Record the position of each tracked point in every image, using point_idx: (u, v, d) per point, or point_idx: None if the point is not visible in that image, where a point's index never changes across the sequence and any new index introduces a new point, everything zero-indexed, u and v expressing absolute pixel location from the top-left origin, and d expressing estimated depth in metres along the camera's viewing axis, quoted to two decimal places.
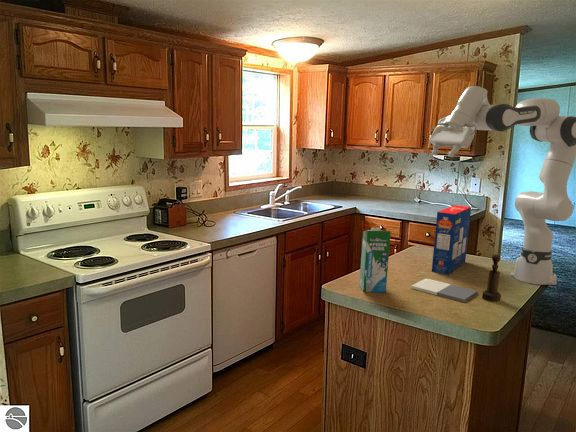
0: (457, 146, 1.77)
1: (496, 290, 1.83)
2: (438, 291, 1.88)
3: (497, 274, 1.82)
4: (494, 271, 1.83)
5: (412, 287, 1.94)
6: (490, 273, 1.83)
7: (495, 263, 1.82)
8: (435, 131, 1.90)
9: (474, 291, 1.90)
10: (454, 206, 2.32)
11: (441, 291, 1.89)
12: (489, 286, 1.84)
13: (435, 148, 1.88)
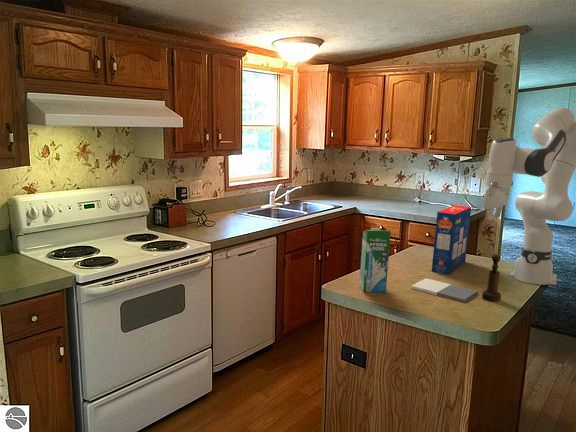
0: (489, 209, 1.73)
1: (496, 290, 1.83)
2: (438, 291, 1.88)
3: (497, 274, 1.82)
4: (494, 271, 1.83)
5: (412, 287, 1.94)
6: (490, 273, 1.83)
7: (495, 263, 1.82)
8: None
9: (474, 291, 1.90)
10: (454, 206, 2.32)
11: (441, 291, 1.89)
12: (489, 286, 1.84)
13: (497, 210, 1.83)
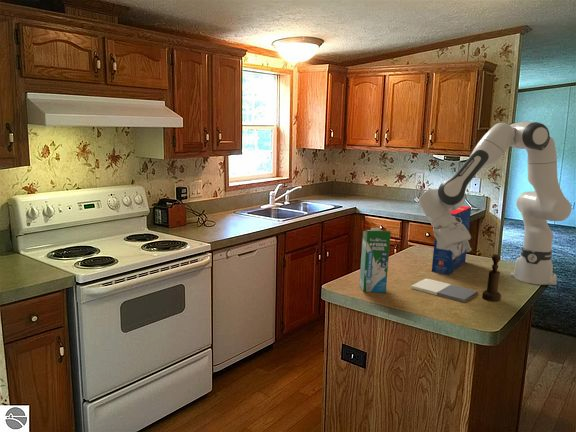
0: (449, 247, 1.89)
1: (496, 290, 1.83)
2: (438, 291, 1.88)
3: (497, 274, 1.82)
4: (494, 271, 1.83)
5: (412, 287, 1.94)
6: (490, 273, 1.83)
7: (495, 263, 1.82)
8: None
9: (474, 291, 1.90)
10: None
11: (441, 291, 1.89)
12: (489, 286, 1.84)
13: (465, 246, 1.97)
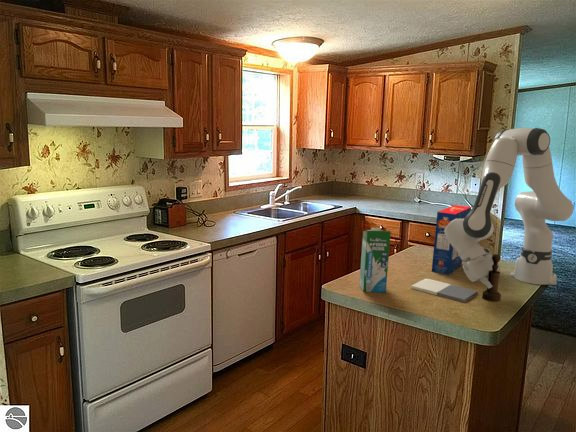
0: (481, 279, 1.83)
1: (496, 290, 1.83)
2: (438, 291, 1.88)
3: (497, 274, 1.82)
4: (494, 271, 1.83)
5: (412, 287, 1.94)
6: (490, 273, 1.83)
7: (495, 263, 1.82)
8: None
9: (474, 291, 1.90)
10: (454, 206, 2.32)
11: (441, 291, 1.89)
12: None
13: None
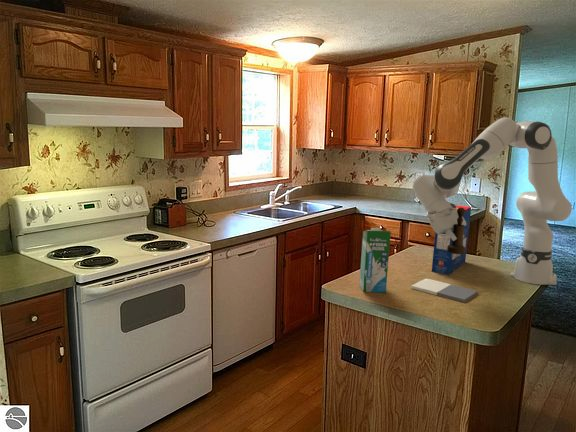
0: (446, 232, 1.87)
1: (460, 243, 1.87)
2: (438, 291, 1.88)
3: (461, 227, 1.85)
4: (459, 224, 1.86)
5: (412, 287, 1.94)
6: (455, 226, 1.86)
7: (460, 216, 1.86)
8: None
9: (474, 291, 1.90)
10: None
11: (441, 291, 1.89)
12: None
13: None
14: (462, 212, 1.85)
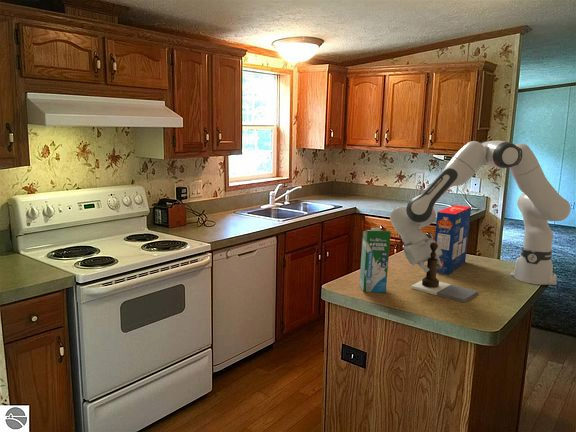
0: (419, 263, 1.92)
1: (434, 277, 1.93)
2: (438, 291, 1.88)
3: (434, 261, 1.92)
4: (432, 259, 1.93)
5: (412, 287, 1.94)
6: (428, 260, 1.93)
7: (433, 251, 1.92)
8: None
9: (474, 291, 1.90)
10: (454, 206, 2.32)
11: (441, 291, 1.89)
12: (427, 273, 1.94)
13: None
14: (435, 247, 1.91)
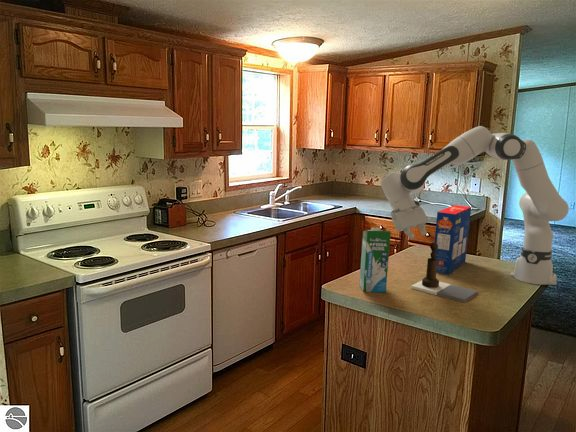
0: (404, 230, 1.98)
1: (434, 277, 1.93)
2: (438, 291, 1.88)
3: (434, 261, 1.92)
4: (432, 259, 1.93)
5: (412, 287, 1.94)
6: (428, 260, 1.93)
7: (433, 251, 1.92)
8: None
9: (474, 291, 1.90)
10: (454, 206, 2.32)
11: (441, 291, 1.89)
12: (427, 273, 1.94)
13: (421, 229, 2.05)
14: (435, 247, 1.91)
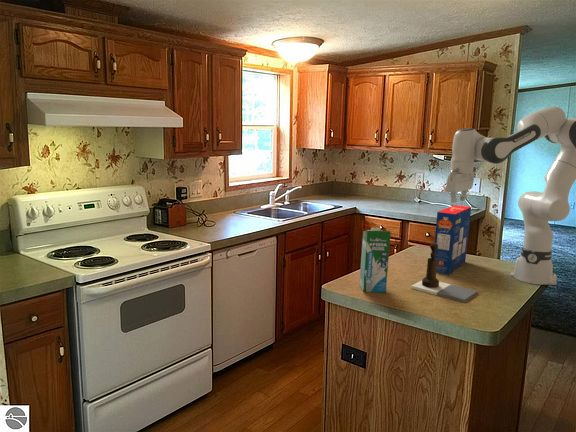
0: (451, 192, 1.93)
1: (434, 277, 1.93)
2: (438, 291, 1.88)
3: (434, 261, 1.92)
4: (432, 259, 1.93)
5: (412, 287, 1.94)
6: (428, 260, 1.93)
7: (433, 251, 1.92)
8: None
9: (474, 291, 1.90)
10: (454, 206, 2.32)
11: (441, 291, 1.89)
12: (427, 273, 1.94)
13: (462, 194, 2.02)
14: (435, 247, 1.91)
